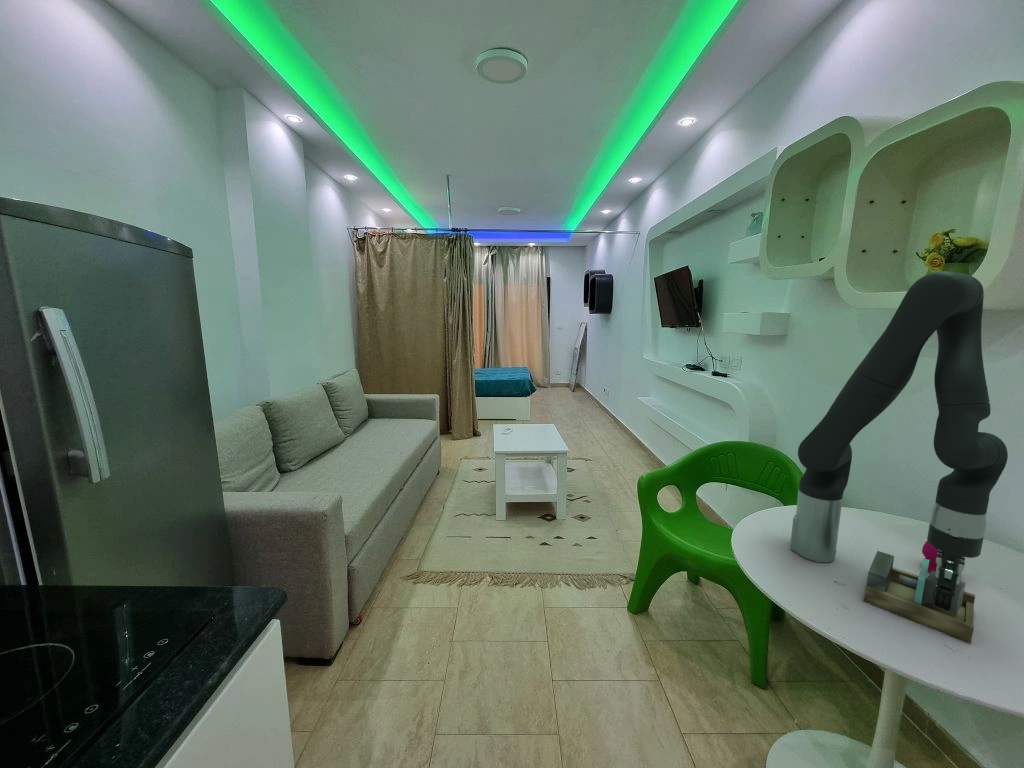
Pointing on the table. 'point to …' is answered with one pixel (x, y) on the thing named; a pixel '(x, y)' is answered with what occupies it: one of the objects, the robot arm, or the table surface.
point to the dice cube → (930, 591)
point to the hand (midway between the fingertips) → (942, 600)
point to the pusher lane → (901, 598)
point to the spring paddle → (917, 584)
